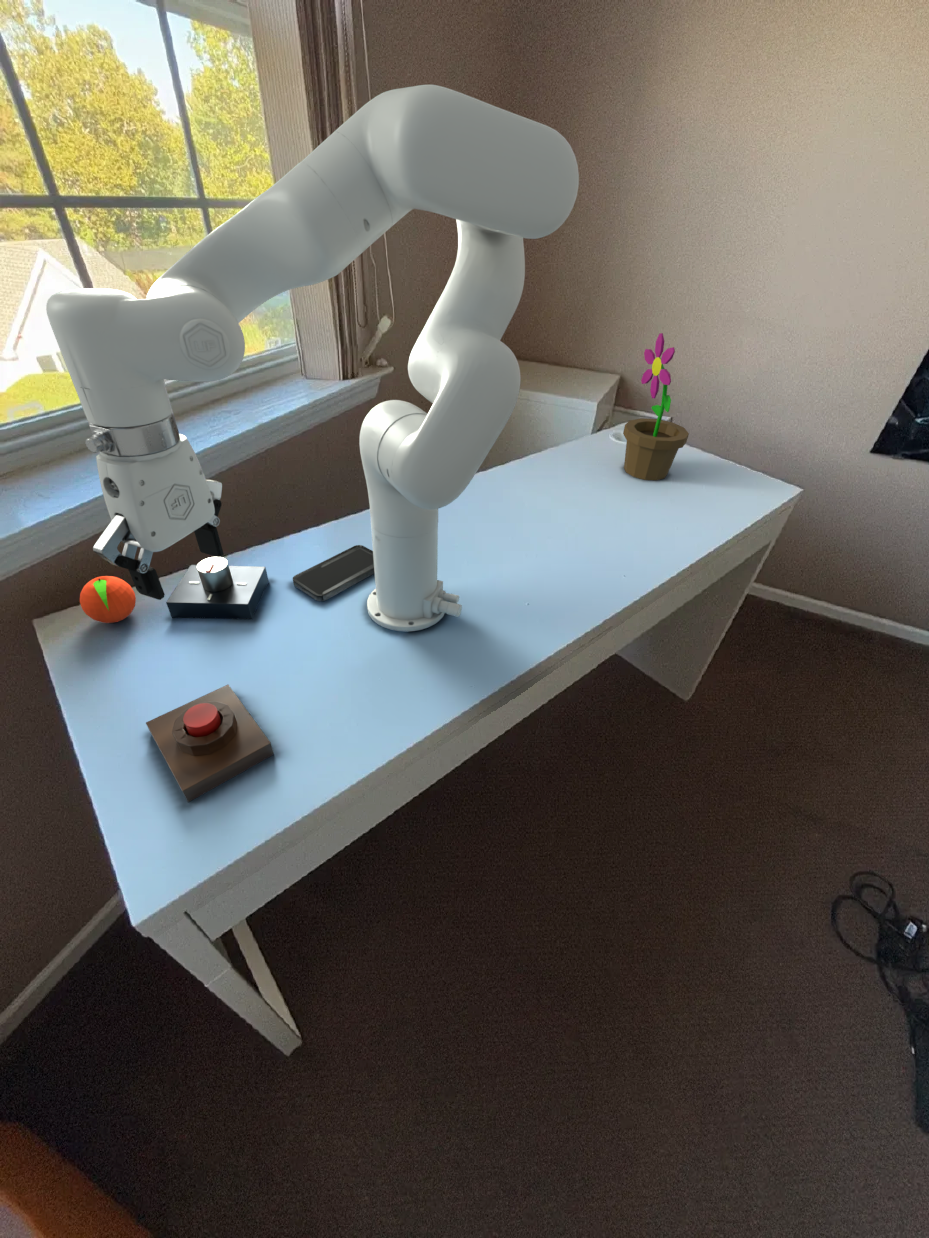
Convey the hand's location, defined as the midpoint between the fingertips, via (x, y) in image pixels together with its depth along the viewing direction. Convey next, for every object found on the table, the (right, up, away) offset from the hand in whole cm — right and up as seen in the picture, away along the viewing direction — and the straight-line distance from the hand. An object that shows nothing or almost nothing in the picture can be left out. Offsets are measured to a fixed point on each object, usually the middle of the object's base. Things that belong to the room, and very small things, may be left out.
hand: (184, 573), depth 66 cm
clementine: (-18, -6, +16) cm, 25 cm away
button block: (+4, -20, 0) cm, 21 cm away
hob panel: (-5, -2, +21) cm, 22 cm away
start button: (+4, -18, -3) cm, 18 cm away
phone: (+13, +2, +28) cm, 31 cm away
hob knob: (-5, 0, +19) cm, 20 cm away
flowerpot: (+77, +30, +66) cm, 106 cm away
